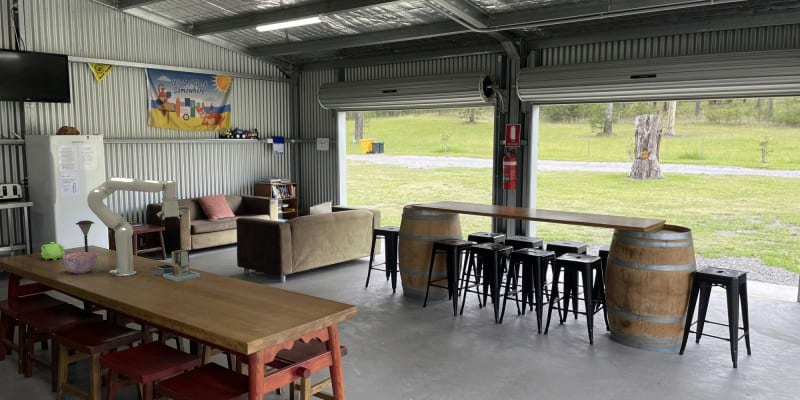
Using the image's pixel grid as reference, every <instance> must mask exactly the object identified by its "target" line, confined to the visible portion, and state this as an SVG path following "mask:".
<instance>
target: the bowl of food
mask: <svg viewBox="0 0 800 400" xmlns="http://www.w3.org/2000/svg"><path fill="white" fill-rule="evenodd" d="M97 258H98V253H96V252H89V251H88V252H85V251H84V252H74V253H73V252H72V253H67V254H65V255H63V256H62V259H63V262H64V265H65V268H66V269H67V271H69V272H71V273H73V274H75V275H76V274H78V275H79V274H80V275H81V274H87V273H88V272H89V271H91V270H93V269H94V268H95V266H96V263H97Z"/></svg>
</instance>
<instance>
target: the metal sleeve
mask: <svg viewBox="0 0 800 400" xmlns="http://www.w3.org/2000/svg"><path fill="white" fill-rule="evenodd" d="M167 273H173V270H172V264H169V263H167V264H161V265H155V266H153V275H155V274H156V276H159V277H162V276H163V274H167Z"/></svg>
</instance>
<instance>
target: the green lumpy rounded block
mask: <svg viewBox="0 0 800 400" xmlns="http://www.w3.org/2000/svg"><path fill="white" fill-rule="evenodd" d="M40 254H41V257H42V258H43V259H44V261H49V260H50V259H52V261H57V260H58V259H63V256H64V255H66V254H65V246H64V245H63V244H61V243H59V242H58V243H55V241H50V243H49V244H42V245H41V253H40Z"/></svg>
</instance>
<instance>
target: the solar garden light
mask: <svg viewBox="0 0 800 400" xmlns="http://www.w3.org/2000/svg"><path fill="white" fill-rule="evenodd" d="M93 224H95V222H94V221H92V220H88V219H87V220H80V221H77V222H76V223H75V225H76V226H79V228H80V230H81V233H82V234H83V239H84V252H89V248H88V246H89V244H88V234H89V232H90V229H91V226H92V225H93Z"/></svg>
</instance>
